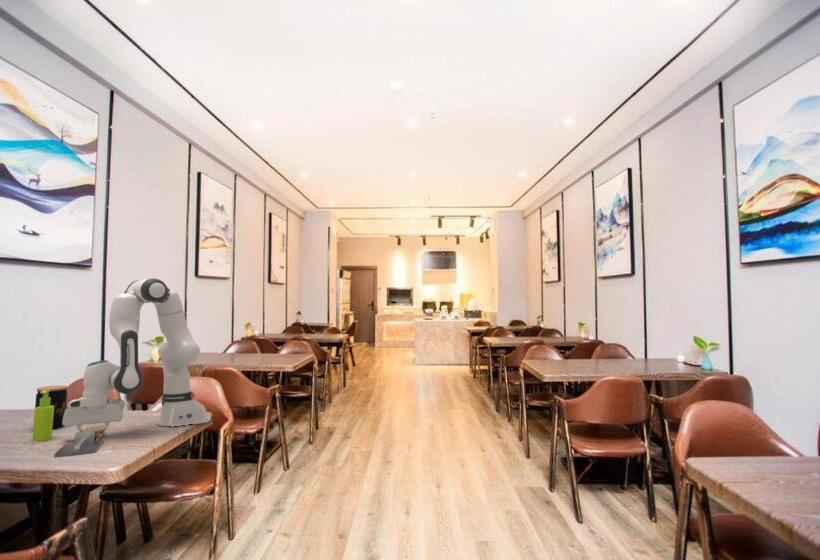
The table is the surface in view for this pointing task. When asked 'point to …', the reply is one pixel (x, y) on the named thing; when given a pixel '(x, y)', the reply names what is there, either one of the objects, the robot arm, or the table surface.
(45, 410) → the soap dispenser
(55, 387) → the coffee jar
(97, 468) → the table surface
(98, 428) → the lock block
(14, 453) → the table surface
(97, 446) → the dock plate
